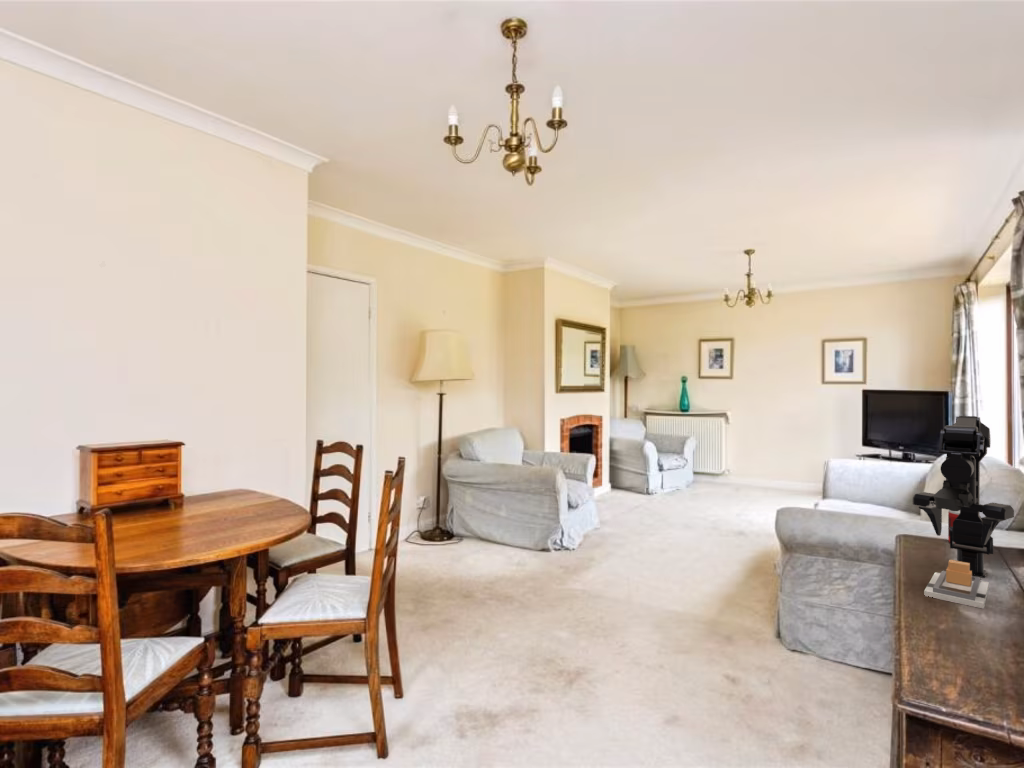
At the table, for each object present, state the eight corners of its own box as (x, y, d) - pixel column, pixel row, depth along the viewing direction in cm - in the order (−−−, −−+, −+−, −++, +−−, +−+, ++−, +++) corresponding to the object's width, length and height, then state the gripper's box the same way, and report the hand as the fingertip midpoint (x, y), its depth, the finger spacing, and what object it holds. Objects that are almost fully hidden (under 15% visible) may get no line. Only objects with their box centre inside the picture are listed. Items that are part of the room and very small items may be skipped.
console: (935, 576, 147) (935, 568, 147) (988, 587, 139) (988, 578, 139) (924, 595, 133) (924, 586, 133) (983, 608, 125) (983, 599, 125)
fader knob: (947, 577, 142) (948, 558, 142) (971, 582, 139) (971, 562, 139) (946, 581, 139) (946, 561, 139) (970, 586, 136) (970, 566, 136)
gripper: (901, 474, 138) (901, 535, 138) (994, 486, 121) (994, 555, 121) (923, 470, 143) (923, 529, 143) (1014, 481, 127) (1014, 548, 127)
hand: (960, 540), depth 134 cm, fingers open, 9 cm apart
